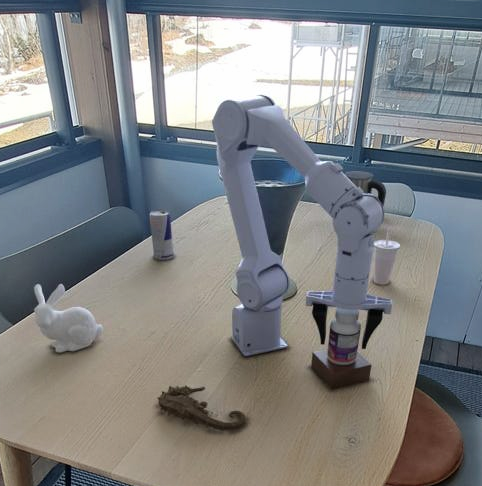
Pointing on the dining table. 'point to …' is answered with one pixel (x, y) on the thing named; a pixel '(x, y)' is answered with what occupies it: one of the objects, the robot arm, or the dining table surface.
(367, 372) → the walnut block
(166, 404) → the seahorse
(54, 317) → the rabbit
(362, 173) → the milk frother
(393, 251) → the smoothie
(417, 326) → the dining table surface
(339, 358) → the pill bottle
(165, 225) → the energy drink
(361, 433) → the dining table surface
